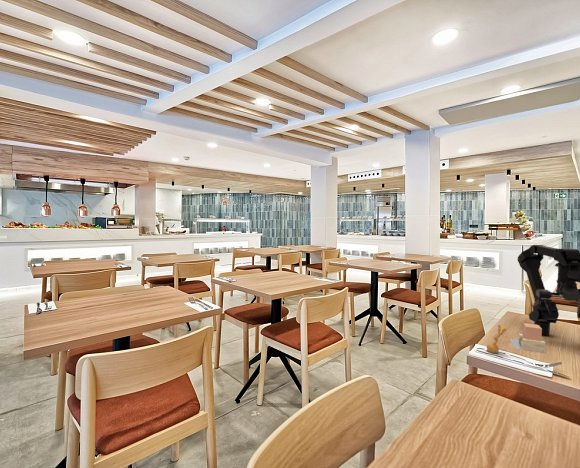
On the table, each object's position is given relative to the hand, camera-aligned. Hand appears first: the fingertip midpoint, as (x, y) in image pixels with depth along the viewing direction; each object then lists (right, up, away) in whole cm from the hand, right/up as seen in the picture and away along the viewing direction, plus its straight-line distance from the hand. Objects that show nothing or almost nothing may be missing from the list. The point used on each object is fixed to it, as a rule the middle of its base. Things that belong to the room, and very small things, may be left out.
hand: (564, 316), depth 132 cm
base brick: (-16, -12, -3) cm, 20 cm away
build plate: (-16, -12, -1) cm, 20 cm away
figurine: (-34, -13, -8) cm, 37 cm away
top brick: (-16, -8, -3) cm, 18 cm away
